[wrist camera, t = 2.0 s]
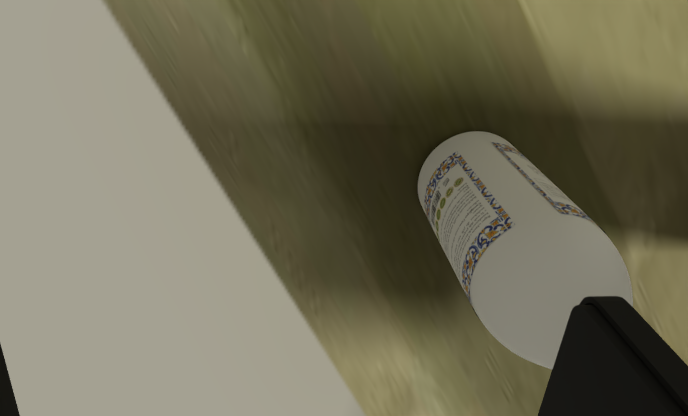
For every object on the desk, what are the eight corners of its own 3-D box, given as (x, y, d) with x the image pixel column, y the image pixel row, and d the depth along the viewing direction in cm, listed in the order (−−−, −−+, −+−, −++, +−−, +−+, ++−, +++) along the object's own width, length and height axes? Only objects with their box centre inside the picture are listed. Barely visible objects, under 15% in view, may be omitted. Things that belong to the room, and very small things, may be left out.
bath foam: (423, 235, 38) (550, 511, 20) (407, 142, 34) (543, 372, 17) (522, 212, 38) (737, 466, 20) (516, 117, 34) (767, 319, 17)
